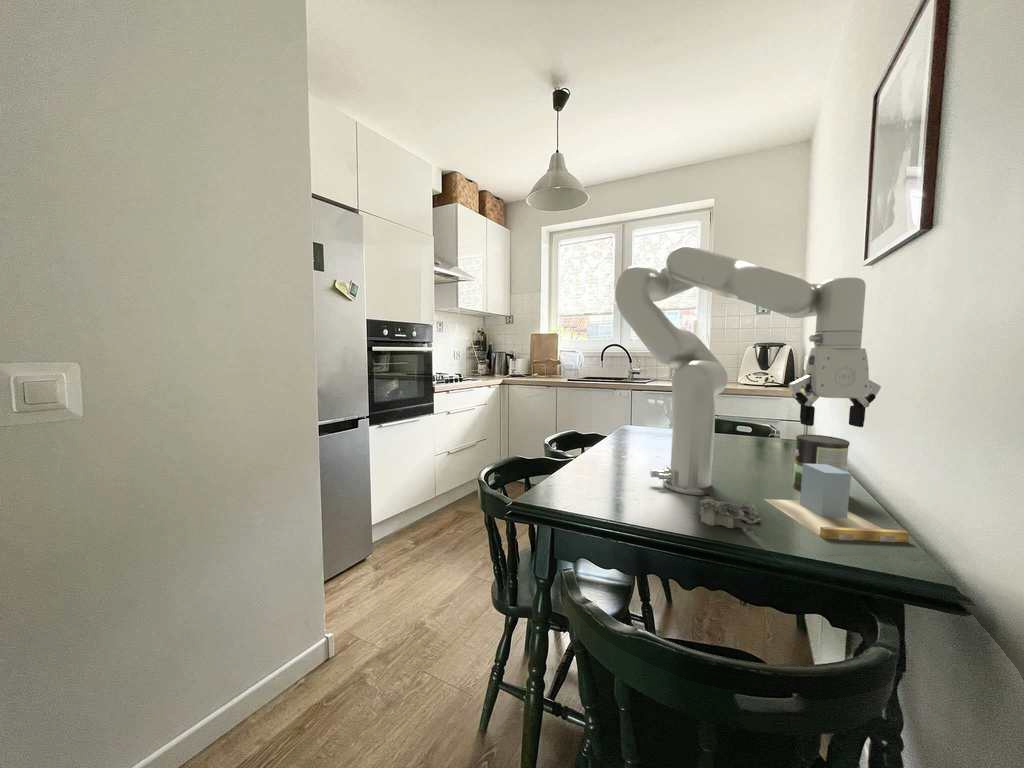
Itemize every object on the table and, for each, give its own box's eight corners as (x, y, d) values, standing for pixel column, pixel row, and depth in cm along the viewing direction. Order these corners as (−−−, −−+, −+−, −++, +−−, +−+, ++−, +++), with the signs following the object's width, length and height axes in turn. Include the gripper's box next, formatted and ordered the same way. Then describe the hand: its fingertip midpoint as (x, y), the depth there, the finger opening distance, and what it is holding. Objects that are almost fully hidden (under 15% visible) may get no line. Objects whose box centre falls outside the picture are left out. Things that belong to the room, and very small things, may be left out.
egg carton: (699, 525, 85) (700, 505, 85) (698, 512, 92) (699, 493, 92) (760, 535, 81) (762, 513, 81) (755, 520, 88) (756, 501, 88)
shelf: (823, 547, 76) (825, 529, 76) (762, 505, 96) (763, 491, 96) (908, 550, 75) (910, 533, 75) (829, 508, 95) (830, 494, 95)
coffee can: (786, 495, 103) (791, 437, 102) (797, 486, 111) (801, 432, 109) (839, 507, 96) (845, 445, 95) (847, 497, 103) (853, 439, 102)
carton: (821, 516, 86) (825, 472, 86) (799, 504, 93) (803, 463, 92) (848, 517, 86) (852, 473, 85) (825, 505, 93) (828, 464, 92)
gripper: (805, 340, 83) (799, 427, 85) (898, 341, 83) (890, 429, 84) (782, 341, 91) (777, 421, 92) (867, 342, 90) (861, 423, 91)
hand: (831, 425), depth 88 cm, fingers open, 9 cm apart
